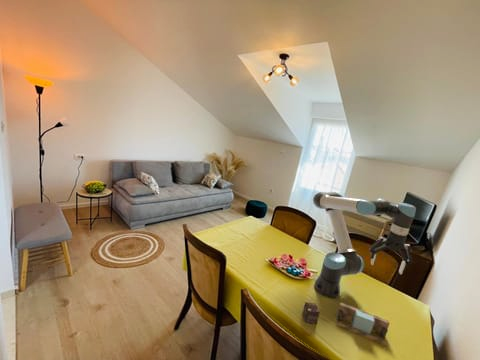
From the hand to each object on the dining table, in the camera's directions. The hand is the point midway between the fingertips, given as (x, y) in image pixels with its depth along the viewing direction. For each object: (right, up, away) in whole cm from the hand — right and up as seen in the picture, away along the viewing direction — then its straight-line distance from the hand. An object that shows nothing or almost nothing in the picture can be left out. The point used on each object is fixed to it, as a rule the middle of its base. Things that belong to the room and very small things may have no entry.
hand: (385, 268), depth 123 cm
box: (-43, -25, -4) cm, 49 cm away
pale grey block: (-17, -29, -7) cm, 34 cm away
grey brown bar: (-17, -29, -6) cm, 34 cm away
